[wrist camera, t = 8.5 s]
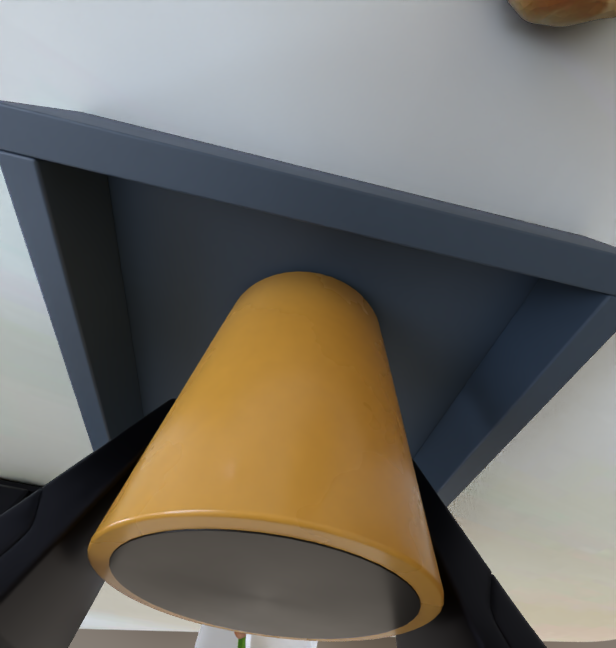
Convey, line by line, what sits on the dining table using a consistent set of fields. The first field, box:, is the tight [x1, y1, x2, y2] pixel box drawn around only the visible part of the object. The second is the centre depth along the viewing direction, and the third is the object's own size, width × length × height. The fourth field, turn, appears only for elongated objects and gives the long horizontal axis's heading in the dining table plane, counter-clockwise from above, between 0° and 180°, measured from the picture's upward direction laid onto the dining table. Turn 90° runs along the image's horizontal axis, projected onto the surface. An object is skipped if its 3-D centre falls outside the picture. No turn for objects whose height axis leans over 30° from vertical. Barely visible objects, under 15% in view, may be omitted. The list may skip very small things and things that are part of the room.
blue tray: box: [0, 100, 616, 507], centre depth 14 cm, size 21×17×3 cm
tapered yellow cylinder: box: [88, 271, 444, 641], centre depth 9 cm, size 8×6×6 cm
